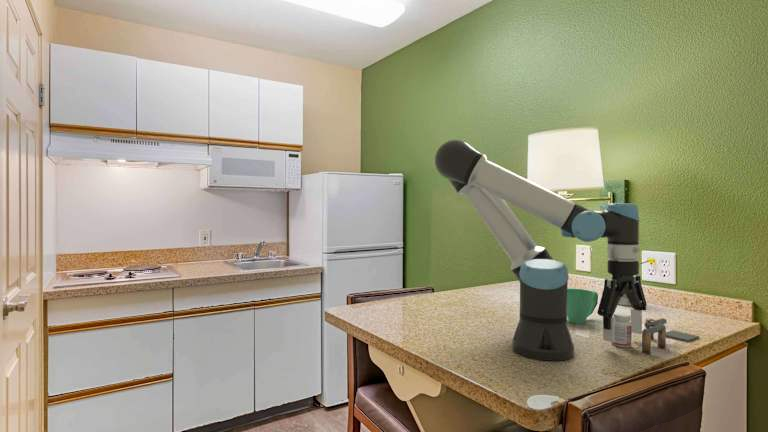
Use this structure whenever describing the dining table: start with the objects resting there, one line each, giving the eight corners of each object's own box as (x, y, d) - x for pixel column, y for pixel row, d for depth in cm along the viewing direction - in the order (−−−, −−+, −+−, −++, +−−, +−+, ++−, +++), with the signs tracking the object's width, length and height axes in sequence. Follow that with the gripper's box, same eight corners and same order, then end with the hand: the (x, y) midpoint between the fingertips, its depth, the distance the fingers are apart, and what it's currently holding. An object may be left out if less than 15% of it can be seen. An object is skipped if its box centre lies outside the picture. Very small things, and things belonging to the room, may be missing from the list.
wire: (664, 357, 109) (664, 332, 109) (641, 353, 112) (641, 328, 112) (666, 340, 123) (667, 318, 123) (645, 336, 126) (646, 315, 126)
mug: (580, 327, 136) (581, 295, 136) (554, 320, 144) (554, 290, 144) (608, 321, 143) (609, 291, 143) (582, 314, 152) (582, 286, 152)
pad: (687, 342, 121) (687, 340, 121) (661, 335, 127) (661, 333, 127) (699, 338, 125) (699, 336, 125) (672, 332, 131) (672, 330, 131)
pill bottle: (630, 348, 115) (631, 317, 115) (610, 345, 118) (611, 315, 118) (631, 344, 119) (632, 313, 119) (612, 341, 122) (612, 311, 122)
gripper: (610, 264, 108) (610, 348, 109) (660, 257, 122) (660, 332, 122) (582, 261, 115) (583, 341, 115) (633, 255, 128) (633, 326, 128)
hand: (622, 337), depth 118 cm, fingers open, 13 cm apart
